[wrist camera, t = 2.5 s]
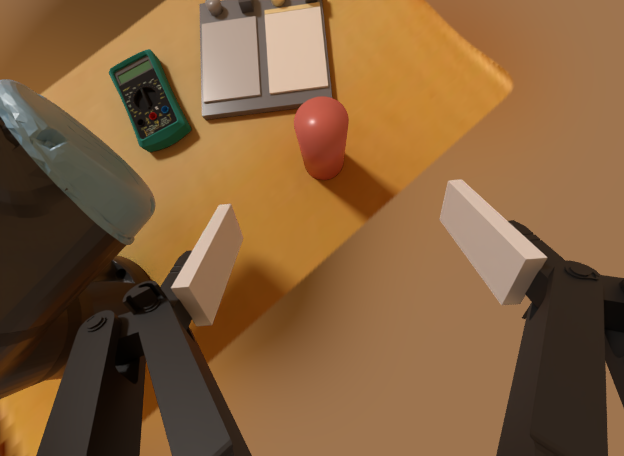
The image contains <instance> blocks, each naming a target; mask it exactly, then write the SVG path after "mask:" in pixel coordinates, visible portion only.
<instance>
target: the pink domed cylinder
mask: <svg viewBox="0 0 624 456" xmlns="http://www.w3.org/2000/svg"><path fill="white" fill-rule="evenodd" d="M294 127H295V131H296V135H297V139H298V142H299V146H300V150H301V153H302V157H303V161H304V165H305V168H306V170H307V172H308V173H309V174H310V175H311V176H312V177H314V178H316V179H319V180H328V179H331V178H333V177H335V176H336V175H338V173H339V172H340V171H341V169H342V167H343V162H344V154H345V146H346V138H347V130H348V114H347V111H346V109H345V108H344V106H343V105H342V104H341V103H340V102H338V101H337V100H335V99H333V98H330V97H324V96H321V97H315V98H312V99H309V100H307V101H306V102H305V103H303V104H302V105H301V106H300V107H299V109H298V110H297V112H296V115H295V118H294Z"/></svg>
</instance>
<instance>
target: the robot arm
mask: <svg viewBox="0 0 624 456" xmlns="http://www.w3.org/2000/svg"><path fill="white" fill-rule="evenodd" d="M154 210H155V199H154V196H153V194H152V192H151V190H150V189H149V187H148V186H147V184H146V183H145V182H144V181H143V180H142V178H141V177H140V176H139V175H138V174H137V173H136V172H135V171H134V170H133V169H132V168H131V167H130V166H129V165H128V164H127V163H126V162H125V161H124V160H123V159H122V158H121V157H120V156H119V155H117V154H116V153H115V152H114V151H113V150H112V149H111V148H110V147H109V146H107V145H106V144H105V143H104V142H103V141H102V140H100V139H99V138H98V137H97V136H96V135H94V134H93V133H92V132H91V131H90V130H88V129H87V128H86V127H85V126H83V125H82V124H81V123H79V122H78V121H77V120H76V119H74V118H73V117H72V116H70V115H69V114H68V113H66V112H65V111H64V110H62V109H61V108H60V107H58V106H57V105H55V104H54V103H52V102H51V101H50V100H48V99H46V98H45V97H43V96H41V95H39V94H37V93H35V92H34V91H32V90H31V89H29V88H28V87H27V86H25V85H23V84H21V83H19V82H16V81H13V80H0V399H1V398H4V397H6V396H9V395H11V394H13V393H16V392H18V391H21V390H23V389H25V388H28V387H30V386H32V385H35V384H37V383H40V382H42V381H45V380H53V379H62V380H61V383H60V386H59V389H58V392H57V395H56V398H55V401H54V404H53V407H52V410H51V413H50V416H49V419H48V422H47V425H46V428H45V431H44V434H43V437H42V440H41V443H40V446H39V449H38V452H37V455H36V456H139V455H140V440H141V425H142V410H143V395H144V380H145V365H146V361H147V365H148V369H149V372H150V376H151V380H152V383H153V387H154V391H155V394H156V398H157V402H158V405H159V409H160V413H161V416H162V420H163V424H164V427H165V431H166V435H167V439H168V442H169V446H170V450H171V453H172V456H252V455H251V453H250V451H249V449H248V447H247V445H246V443H245V441H244V439H243V437H242V435H241V433H240V430H239V428H238V426H237V424H236V422H235V420H234V418H233V416H232V414H231V412H230V410H229V408H228V406H227V404H226V402H225V400H224V398H223V395H222V393H221V391H220V389H219V387H218V385H217V383H216V381H215V379H214V377H213V375H212V373H211V371H210V369H209V366H208V364H207V362H206V360H205V358H204V356H203V354H202V352H201V350H200V348H199V346H198V344H197V342H196V340H195V338H194V335H193V333H192V331H191V330H190V328H189V324H190V322H191V320H193V322H194V323H195V325H196V326H208V325H212V324H213V322H214V319H215V316H216V313H217V310H218V308H219V305H220V302H221V299H222V296H223V294H224V291H225V288H226V285H227V282H228V280H229V277H230V274H231V271H232V268H233V266H234V263H235V260H236V257H237V254H238V252H239V249H240V246H241V243H242V240H243V236H242V233H241V230H240V227H239V224H238V222H237V219H236V216H235V213H234V211H233V208H232V205H231V204H223V205H219V206H218V208H217V209H216V211H215V213H214V215H213V216H212V218H211V220H210V222H209V223H208V225H207V227H206V228H205V230H204V232H203V234H202V235H201V237H200V239H199V240H198V242H197V244H196V246H195V247H194V249H193V251H186V252H185V253H184V254H183V255H181V256H180V257H179V258H178V260H177V261H176V263H175V265H174V267H173V268H172V269H171V271H170V273H169V274H168V276H167V277H166V279H165V280H164V282H163V284H162V285H161V287H160V286H159V285H158V284H157V283H156V282H155V281H150V280H149V278H148V276H147V275H146V273H145V272H144V271H143V270H142V269H141V268H140V267H139V266H138V265H137V264H136V263H134V262H133V261H131V260H129V259H127V258H124V257H121V256H117V255H118V253H119V252H120V251H121V250H122V249H123V248H124V247H125V246H126V245H130V244H132V243H133V241H134V236H135V235H136V234H137V233H138V232H139V231H140V229H141V228H142V227H143V226H144V225H145V224H146V222H147V221H148V220H149V219H150V218H151V216H152V215H153V213H154ZM440 221H441V222H442V224H443V225H444V226H445V227H446V229H447V230H448V232H449V233H450V234H451V236H452V237H453V239H454V240H455V241H456V243H457V244H458V245H459V247H460V248H461V249H462V251H463V253H464V254H465V255H466V257H467V258H468V259H469V261H470V262H471V264H472V265H473V266H474V268H475V269H476V270H477V272H478V273H479V275H480V276H481V277H482V279H483V280H484V282H485V283H486V284H487V286H488V287H489V288H490V290H491V291H492V293H493V294H494V295H495V297H496V298H497V299H498V301H499V302H500V304H501V305H512V304H520V303H521V302H522V300H523V298H524V297H525V295H526V296H527V297H528V298H529V299H530V300H531V301H532V303H531V304H530V306H529V308H528V309H527V311H526V312H525V314H524V315H523V317H522V318H524V319H526V322H525V326H524V331H523V336H522V340H521V345H520V350H519V354H518V359H517V363H516V368H515V372H514V377H513V382H512V386H511V391H510V396H509V400H508V404H507V409H506V414H505V418H504V423H503V427H502V432H501V437H500V441H499V446H498V450H497V455H496V456H608V444H607V410H606V409H607V407H606V371H605V361H606V363H607V366H608V368H609V371H610V373H611V376H612V379H613V381H614V384H615V386H616V389H617V392H618V394H619V397H620V399H621V402H622V404H623V407H624V278H618V277H610V276H603V275H600V274H599V273H598V272H597V271H596V270H594V269H592V268H590V267H589V266H587V265H584V264H581V263H578V262H574V261H565V260H564V259H563V258H562V257H561V256H559V255H558V254H557V253H556V252H555V251H553V250H552V249H551V248H550V247H549V246H548V245H546V244H545V243H544V242H543V241H542V240H541V241H540V239H539V238H538V237H537V236H536V235H533V232H531V231H530V230H529V229H528V228H527V227H525V226H524V225H522V224H520V223H518V222H516V221H514V220H513V221H507V220H506V219H505V218H503V217H502V216H501V215H500V214H499V213H498V212H497V211H496V210H495V209H494V208H492V207H491V206H490V205H489V204H488V203H487V202H486V201H485V200H484V199H483V198H481V197H480V196H479V195H478V194H477V193H476V192H475V191H474V190H473V189H472V188H470V187H469V186H468V185H467V184H466V183H465V182H464V181H463V180H453V181H448V184H447V189H446V193H445V197H444V202H443V206H442V211H441V216H440Z"/></svg>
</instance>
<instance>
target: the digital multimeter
mask: <svg viewBox="0 0 624 456" xmlns="http://www.w3.org/2000/svg"><path fill="white" fill-rule="evenodd" d="M109 75H110V77H111V79H112V81H113V83H114V85H115V87H116V89H117V91H118V93H119V95H120V97H121V99H122V102H123V104H124V106H125V108H126V111H127V113H128V116H129V118H130V121H131V123H132V126H133V129H134V131H135V134H136V137H137V140H138V143H139V146H140V147H142V148H143V149H145V150H147V151H148V152H153V151H157V150H161V149H163V148H166V147H169V146H171V145H173V144H174V143H176V142H177V141H179V140H180V139H182V138H183V137H184V136H185V135H186V134H188V133H189V132H190V131H191V127H190V125H189V123H188V121H187V120H186V118H185V116H184V114H183V112H182V110H181V108H180V106H179V104H178V102H177V100H176V98H175V96H174V94H173V92H172V90H171V87H170V85H169V83H168V81H167V78H166V76H165V73H164V71H163V68H162V66H161V63H160V61H159V59H158V58H157V57H156V56H155V54H154V53H153V52H152V51H151V50H149V49H148V50H145V51H142V52H140V53H138V54H136V55H134V56H132V57H130V58H128V59H126V60H124V61H122V62H121V63H119V64H117V65H116V66H114V67H112V68H111V69H110V71H109ZM140 87H141V88H140ZM163 89H164V90H163ZM169 102H170V103H169ZM175 115H176V116H175Z"/></svg>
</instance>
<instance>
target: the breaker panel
mask: <svg viewBox="0 0 624 456" xmlns="http://www.w3.org/2000/svg"><path fill="white" fill-rule="evenodd" d="M200 44H201V90H202V116H203V118H204V119H205V120H207V119H215V118H223V117H231V116H239V115H248V114H256V113H264V112H272V111H280V110H288V109H296V108H299V107H300V106H301V105H302V104H303V103H305V102H306V101H307V100H309V99H312V98H315V97H321V96H324V97H330V98H332V91H331V82H330V72H329V63H328V53H327V43H326V34H325V24H324V15H323V5H322V0H223V1H220V0H206V1H205V3H203V4H200Z"/></svg>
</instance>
